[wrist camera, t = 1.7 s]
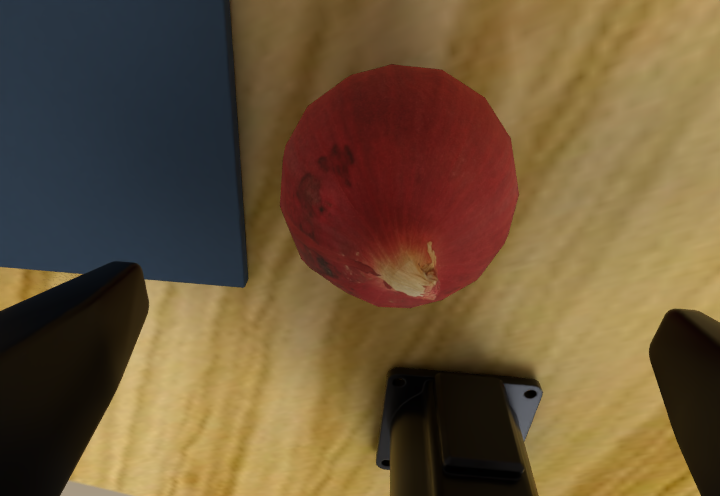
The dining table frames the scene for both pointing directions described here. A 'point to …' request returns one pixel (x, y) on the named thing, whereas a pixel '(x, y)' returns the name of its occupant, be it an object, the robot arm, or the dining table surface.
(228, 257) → the mat
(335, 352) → the dining table surface
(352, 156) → the onion
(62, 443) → the robot arm
